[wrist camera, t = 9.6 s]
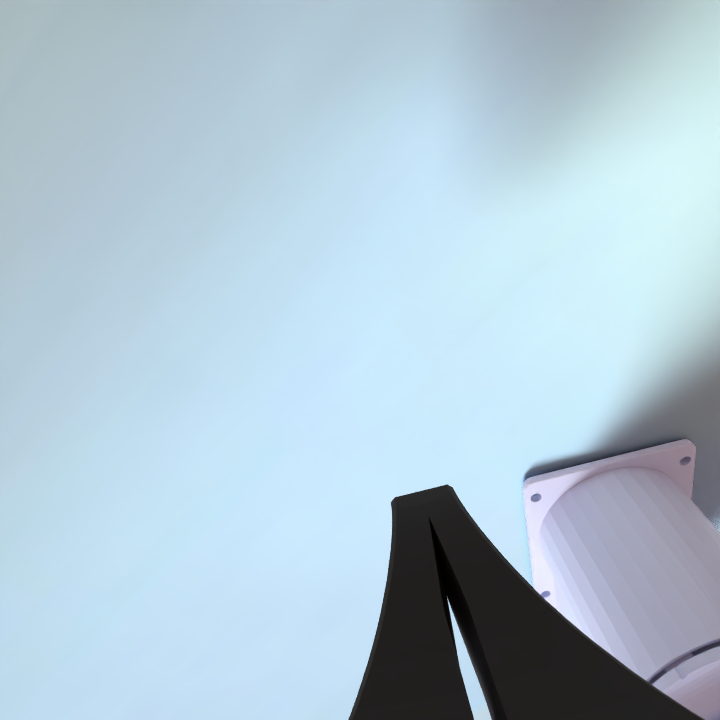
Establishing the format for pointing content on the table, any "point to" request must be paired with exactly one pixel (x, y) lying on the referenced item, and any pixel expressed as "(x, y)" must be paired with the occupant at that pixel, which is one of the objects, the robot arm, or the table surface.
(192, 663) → the table surface
